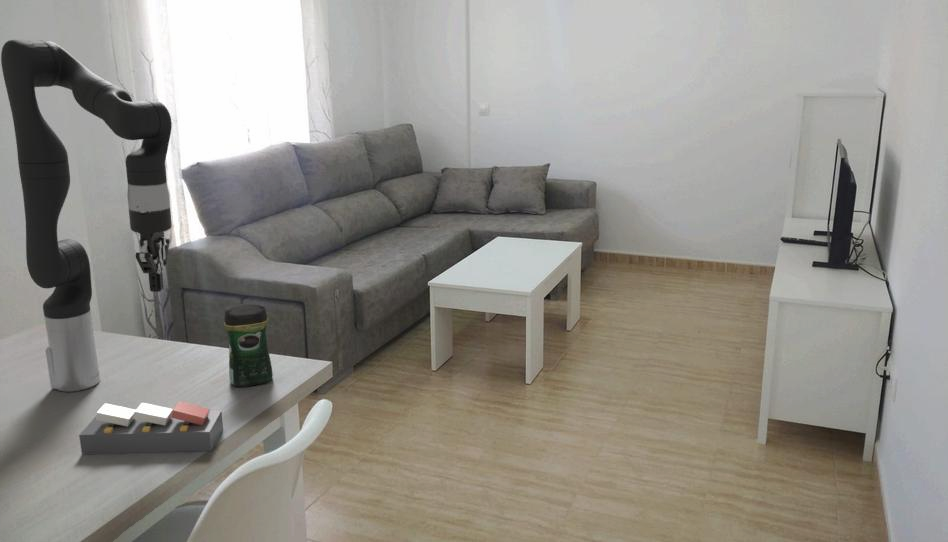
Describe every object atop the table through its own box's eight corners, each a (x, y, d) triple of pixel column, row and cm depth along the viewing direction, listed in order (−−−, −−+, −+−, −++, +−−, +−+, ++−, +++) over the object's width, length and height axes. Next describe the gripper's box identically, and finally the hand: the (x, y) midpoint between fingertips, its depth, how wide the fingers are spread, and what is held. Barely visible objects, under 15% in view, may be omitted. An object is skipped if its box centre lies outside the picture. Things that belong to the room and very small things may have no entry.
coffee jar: (270, 371, 185) (265, 296, 180) (274, 384, 178) (269, 307, 173) (228, 376, 182) (221, 301, 177) (230, 390, 175) (223, 312, 170)
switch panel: (82, 454, 147) (78, 430, 146) (101, 431, 156) (97, 408, 154) (211, 450, 148) (209, 427, 147) (223, 428, 157) (221, 406, 156)
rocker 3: (171, 417, 149) (172, 410, 148) (177, 408, 153) (179, 401, 152) (202, 425, 150) (204, 418, 149) (208, 416, 153) (209, 408, 153)
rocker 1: (95, 419, 148) (96, 412, 147) (103, 410, 152) (105, 403, 151) (127, 426, 149) (129, 419, 148) (135, 417, 152) (136, 409, 152)
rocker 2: (133, 419, 148) (134, 411, 148) (140, 409, 152) (141, 402, 152) (165, 425, 149) (166, 418, 149) (171, 416, 153) (173, 409, 152)
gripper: (141, 198, 158) (149, 280, 162) (116, 212, 145) (125, 300, 150) (179, 199, 158) (185, 281, 163) (157, 213, 145) (165, 301, 150)
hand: (156, 290), depth 156 cm, fingers closed
